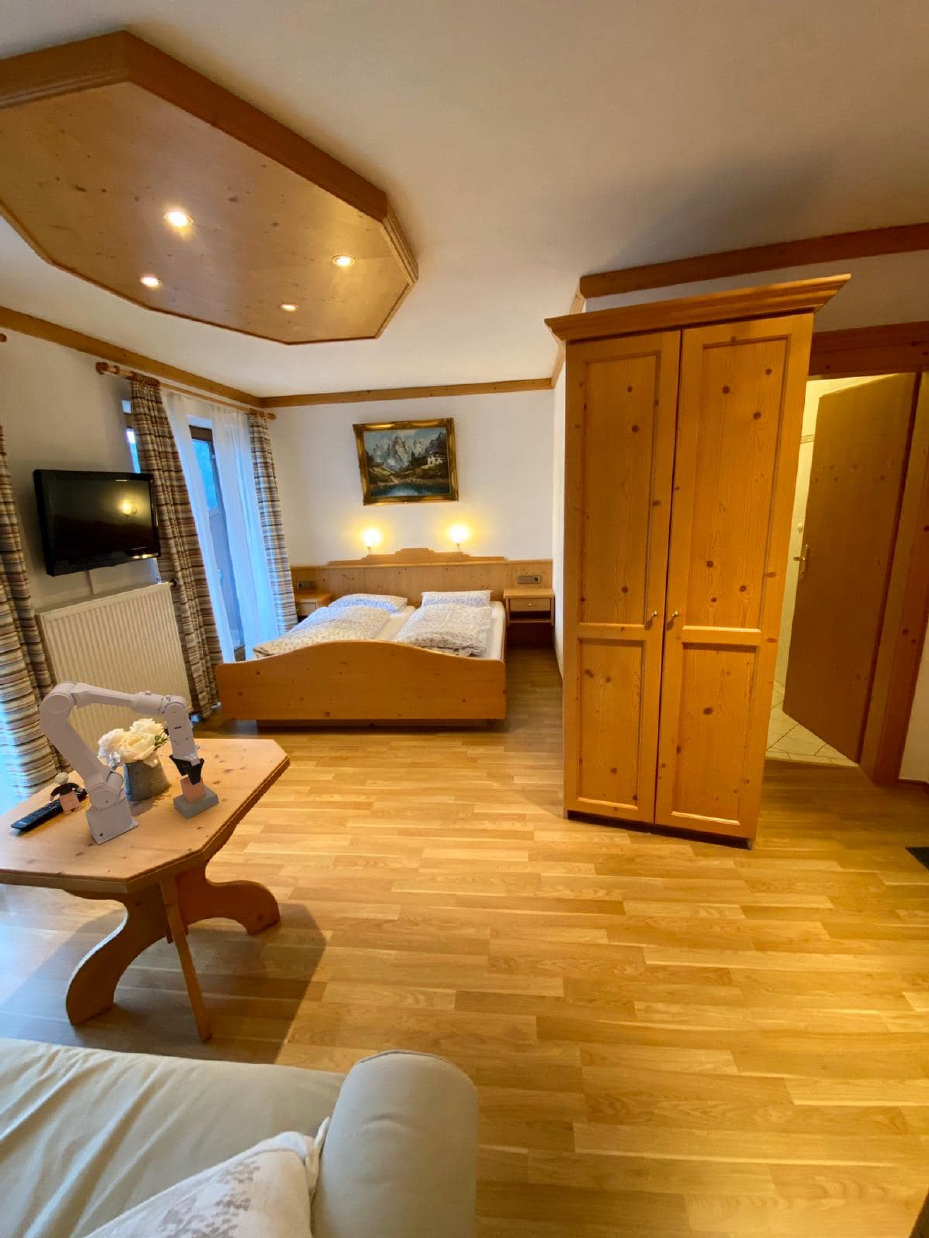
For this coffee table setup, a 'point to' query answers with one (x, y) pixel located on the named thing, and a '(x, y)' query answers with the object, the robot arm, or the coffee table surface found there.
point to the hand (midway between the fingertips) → (190, 778)
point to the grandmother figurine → (66, 793)
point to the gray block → (195, 803)
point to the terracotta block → (192, 789)
